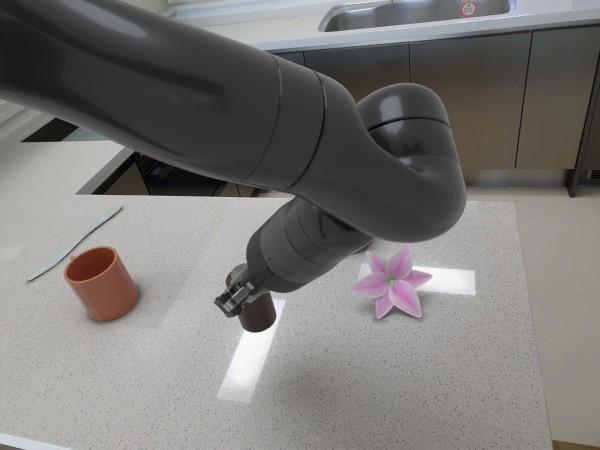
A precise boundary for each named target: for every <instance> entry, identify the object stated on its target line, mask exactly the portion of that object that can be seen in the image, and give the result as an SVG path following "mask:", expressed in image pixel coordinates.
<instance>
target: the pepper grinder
mask: <svg viewBox="0 0 600 450" xmlns="http://www.w3.org/2000/svg"><path fill="white" fill-rule="evenodd" d="M246 263H247V262H243V263H240V264H238V265H236V266H234V267H233V268H232V270H231V271H229V273H228V274H227V276H226V278H225V285H226V288H227V287H228V288H229V287H230V286H231V284H230V281H231V280H232V279H233V278H234V277H235V276H236V275H237V274H238V273H239V272H240V271H241V270H242V267H243V266H244V265H245V264H246ZM245 274H246V273H245ZM245 274H244V275H245ZM244 275H243V276H244ZM243 276H242V277H243ZM234 290H235V291H236V292H237V290H236V289H234ZM243 305H244V307H243V309H242V310H241V313H240V314H239V315H237V317H238V321H239V323H240V325H241V327H242V329H243V330H245V331H246V332H249V333H253V334H258V333H262V332H265V331H267V330H268V329H270V328H271V327H272V326H273V325H274V324H275V322H276V320H277V315H278V314H277V311H276V307H275V304H274V300H273V297H272V294H271V291H269V292H268V293H263V294H262V295H260V296H259V297H258V298H257V299H255V300H254V301H253V302H252V303H248V302H245V303H243Z"/></svg>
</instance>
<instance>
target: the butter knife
mask: <svg viewBox="0 0 600 450" xmlns="http://www.w3.org/2000/svg"><path fill="white" fill-rule="evenodd" d="M121 209H122V205H120V204H117V205H116V206H114V207H112V208H111V209H109V210H108V211H107V212H106V213H104V215H102V216H101V217H100V218H99V219H98V220H97V221H96V222H94V223H93V224H92V225H91V226H90V227H89V228H88V229H86V230H85V231H84V232H83V233H81V234H80V235H79V236H78V237H76V239H75V240H74V241H72V242H71V243H70V244H68V245H67V246H66V247H65V248H63V249H62V250H61V251H60V252H59V253H57V254H56V255H55V256H53V257H52V258H50V259H49V260H48V261H47V262H46V263H44V264H43V265H42V266H41V267H40V268H39V269H38V270H37V269H36V271H35V272H33V273H32V274H31V275H29V276H28V277H27V278H26V281H32V280H34V279H35V278H37V277H39V276H40V275H42V274H44V273H45V272H47V271H49V270H50V269H51V268H53V267H55V266H56V265H57V264H58V263H59V262H60V261H62V260H63V259H64V258H65V257H66V256H67V255H68V254H69V253H70V252H71V251H72V250H73V249H74V248H75V247H76V246H77V245H78V244H80V242H81V241H83V240H84V238H85V237H86V236H87V235H89V234H90V233H91V232H92V231H94V230H95V229H96V228H98V227H99V226H100V225H102V224H103V223H105V222H107V221H108V220H109V219H110V218H111V217H113V216H114V215H116V214H117V213H118V212H119V211H121Z"/></svg>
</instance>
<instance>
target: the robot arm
mask: <svg viewBox="0 0 600 450" xmlns="http://www.w3.org/2000/svg"><path fill="white" fill-rule="evenodd" d="M0 100H1V101H4V102H7V103H11V104H15V105H17V106H21V107H24V108H26V109H30V110H33V111H37V112H40V113H43V114H46V115H49V116H51V117H53V118H57V119H59V120H62V121H64V122H66V123H69V124H72V125H74V126H76V127H79V128H81V129H84V130H86V131H87V132H90V133H93V134H96V135H98V136H100V137H102V138H104V139H106V140H108V141H111V142H113V143H115V144H117V145H121V146H122V147H125V148H127V149H129V150H131V151H134V152H136V153H139V154H141V155H144V156H146V157H149V158H151V159H154V160H156V161H159V162H162V163H164V164H167V165H170V166H172V167H176V168H178V169H181V170H184V171H187V172H190V173H194V174H197V175H200V176H204V177H207V178H212V179H215V180H220V181H224V182H228V183H229V182H230V183H233V184H239V185H244V186H250V187H253V188H254V187H255V188H258V189H264V190H269V191H273V192H277V193H283V194H288V195H292V196H294V197H292V199H290V200H289V201H287V202H285V203H284V204H282V205H281V206H279V207H278V208H277V210H276V211H274V213H273V214H272V215H270V217H268V218H267V219H266V220H265V221H264V222H263V223H262V224H261V226H260V227H258V229H256V230H255V231H254V233H253V234H252V235H251V237H250V238H249V240H248V242H247V245H246V249H245V261H246V262H245V263H246V264H245V265H244V266H243V267H242V270H241V271H240V272H239V273H238V274H237V275H236V276H235V277H234V278H233V279H232V280H231V281H230V284H231V286H230V287H229V288H228V287H227V286H226V287H225V288H224V290H223V292H222V293H221V294H220V295H218V296H216V297H215V299H214V301H213V304H214V305H215V306H217V308H218V309H220V311H221V312H222V313H223V314H224V315H225V317H226V318H227V319H230V318H235V317H236V316H238V315H239V314H240V313H241V310H242V309H243V307H244V305H243V303H245V302H248V303H252V302H253V301H254V300H255V299H257V298H258V297H259V296H260V295H262V294H263V293H268V292H269V291H270V292H273V293H277V294H290V293H293V292H295V291H298V290H300V289H301V288H303V287H305V286H306V285H308V284H310V283H311V282H313V281H315V280H317V279H318V278H320V277H322V276H324V275H325V274H327V273H329V272H330V271H332V270H333V269H334V268H335V267H337V265H338V264H339V263H340V262H342V261H344V260H345V259H347V258H349V257H351V256H352V255H354V254H356V253H357V252H359V251H361V250H363V249H364V248H365V247H367V246H368V245H369V244H371V243H372V242H373V241H374V240H375V238H376V239H379V240H381V241H386V242H389V243H390V242H391V243H396V244H404V243H411V244H418V243H424V242H428V241H432V240H434V239H437V238H439V237H441V236H443V235H444V234H446V233H448V232H449V231H451V229H453V228H454V227H455V225H457V223H458V222H459V221H460V219H461V218H462V216H463V214H464V211H465V209H466V205H467V197H468V195H467V186H466V182H465V178H464V174H463V173H464V172H463V169H462V167H461V166H462V165H461V161H460V157H459V154H458V150H457V146H456V141H455V138H454V134H453V129H452V125H451V121H450V118H449V114H448V110H447V108H446V106H445V104H444V102H443V100H442V99H441V97H439V95H438V94H437V93H436V92H435V91H434V90H433V89H431V88H429V87H427V86H425V85H422V84H419V83H413V82H400V83H399V82H398V83H394V84H391V85H386V86H383V87H380V88H379V89H377V90H375V91H373V92H371V93H369V94H368V95H366V96H365V97H363V98H362V99H361V100H359V102H357V103H356V101H355V99H354V96H352V94H351V93H350V91H349V90H348V88H346V87H345V86H344V85H342V84H341V83H340V82H339V81H337V80H336V79H333V78H332V77H330V76H328V75H325V74H323V73H321V72H318V71H316V70H314V69H311V68H309V67H306V66H303V65H301V64H298V63H296V62H293V61H291V60H289V59H285V58H283V57H281V56H278V55H276V54H273V53H270V52H268V51H265V50H263V49H261V48H257V47H255V46H252V45H250V44H246V43H244V42H241V41H238V40H237V39H236V40H235V39H234V38H230V37H227V36H224V35H222V34H218V33H217V32H213V31H211V30H207V29H204V28H202V27H199V26H196V25H193V24H190V23H187V22H184V21H182V20H179V19H177V18H174V17H173V18H172V17H170V16H167V15H164V14H161V13H158V12H155V11H153V10H150V9H147V8H145V7H143V6H139V5H136V4H133V3H130V2H127V1H124V0H0ZM245 273H246V274H245ZM244 274H245V275H244ZM243 275H244V276H243ZM242 276H243V277H242ZM234 289H236V290H237V292H236V291H235V290H234Z"/></svg>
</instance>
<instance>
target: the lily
mask: <svg viewBox="0 0 600 450" xmlns="http://www.w3.org/2000/svg"><path fill="white" fill-rule="evenodd" d="M365 256H366V259H367V263H368V267H369V269H370V271H371V273H369V274H367V275H366V276H364V277H362V278H361V279H359V280H357V281H356V282H354V283H353V284H351V285H350V286H349V288H348V291H349V292H350V293H352V294H355V295H358V296H361V297H365V298H370V299H375V316H376V319H377V320H380V319H381V318H383V317H384V316H385V315H386V314H387V313H389V312H390V310H392V308H393V307H394V306H395V307H396V308H398V310H401V311H403V312H404V313H407V314H408V315H410V316H412V317H415V318H419V319H420V318H422V317H423V309H422V305H421V302H420V298H419V296H418V293H417V291H416V289H417V288H419V287H422V286H423V285H425V284H426V283H427V282H429V281H431V280H432V279H433V277H434V276H433V274H431V273H428V272H424V271H421V270H416V269H413V259H414V258H413V246H412V243H402V245H401V246H400V247H398V249H396V251H395V252H394V253H393V254H392V255H391V256H390V257H388V259H385V258H384V257H382V256H380V255H379V254H376V253H374V252H373V251H370V250H366V252H365Z"/></svg>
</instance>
